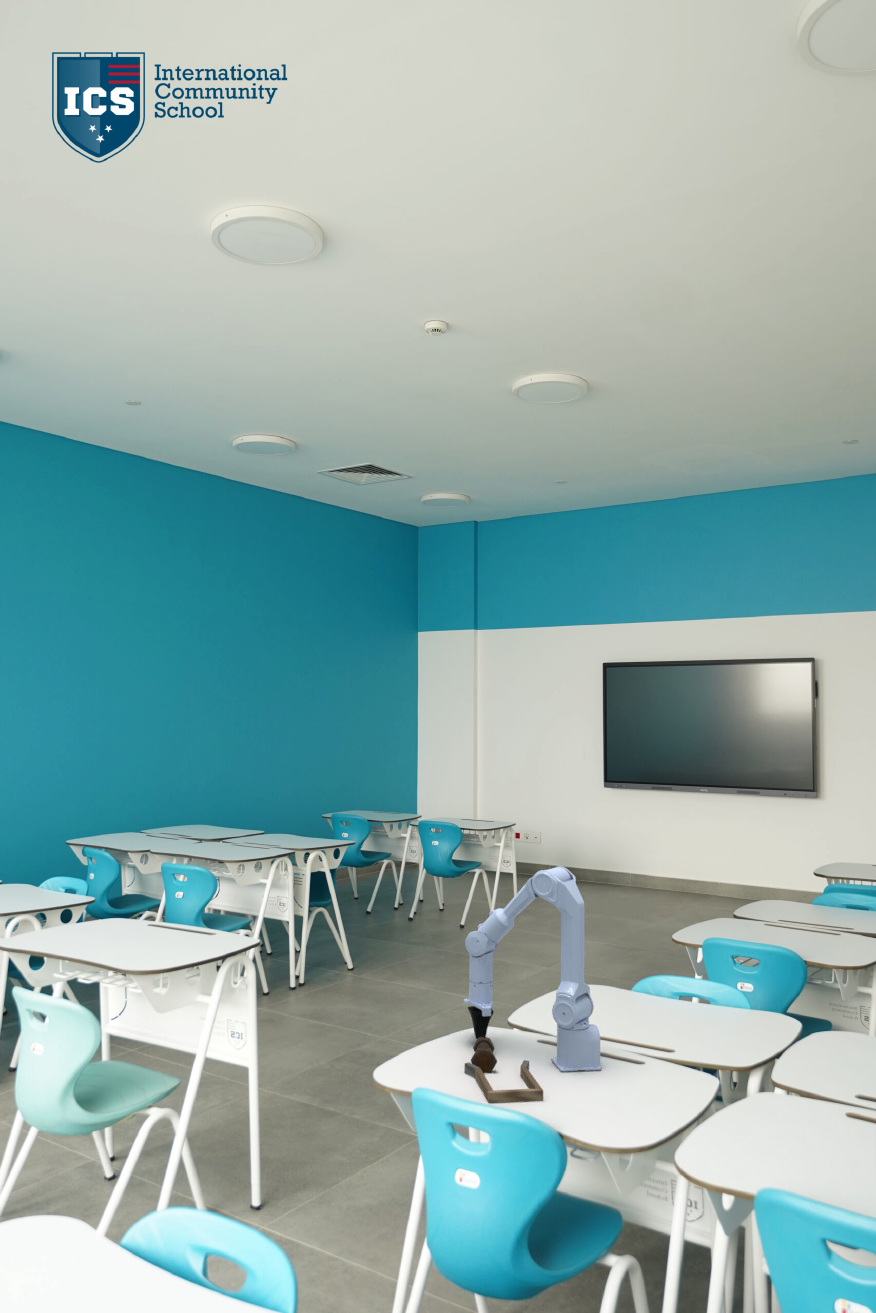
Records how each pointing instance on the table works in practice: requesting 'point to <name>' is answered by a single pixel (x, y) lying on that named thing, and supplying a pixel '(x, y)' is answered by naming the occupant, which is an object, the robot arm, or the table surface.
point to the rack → (507, 1095)
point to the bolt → (484, 1055)
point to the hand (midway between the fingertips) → (480, 1038)
